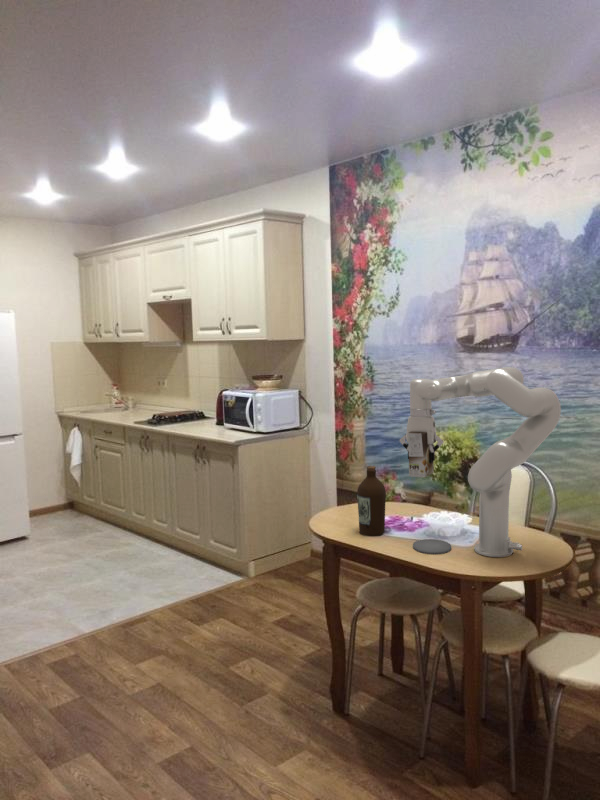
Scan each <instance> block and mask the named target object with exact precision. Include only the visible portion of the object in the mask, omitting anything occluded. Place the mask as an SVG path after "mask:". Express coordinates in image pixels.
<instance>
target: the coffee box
mask: <svg viewBox="0 0 600 800" xmlns="http://www.w3.org/2000/svg"><path fill="white" fill-rule="evenodd" d="M408 433H409V444H408V445H409V459H408V477H414V478H422V479H423V478H427V477H429V476H431V475H432V474H434V473H435V471H434V470H435V469H434V467H435V466H434V462H435V460H434V461H433V463H432V464H431V463H429V453H430V449H429V445H428V437H427V432H408Z"/></svg>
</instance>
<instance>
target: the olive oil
mask: <svg viewBox="0 0 600 800" xmlns="http://www.w3.org/2000/svg"><path fill="white" fill-rule="evenodd" d="M356 491H357V492H356V498H357V510H358V511H357V513H358V529H359V530H358V531H359V534H360V535H363V536H368V537H378V536H383V535H384V534H385V530H386V527H385V525H386V501H387V498H386V496H387V491H386V487H385V485H384V484H383V483H382V481H381V480H379V479H378V477H377V471H376V466H375V465H369V466H366V477H365V478H364V479H363V480H362V481H361V482H360V483H359V485H358V487H357V490H356ZM383 533H384V534H383Z"/></svg>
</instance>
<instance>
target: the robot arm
mask: <svg viewBox="0 0 600 800" xmlns="http://www.w3.org/2000/svg"><path fill="white" fill-rule="evenodd" d="M524 381H525V379H524V374H523V373H522V372H521V370H520V369H518V368H517V367H514V366H513V367H512V366H507V367H500V368H492V369H487V370H480V371H474V372H471V373H470V374H465V375H457V376H452V377H450V376H449V377H441V378H436V379H435V378H434V379H428V378H413V379H411V380H410V382H409V407H410V408H409V413H410V414H409V416H408V418H407V425H406V434H404V435H403V436H402V437H401V438H400V439H399V442H400V444H401V445H402V446H403V447H404V449H406V451H407V460H409V433H408V432H427V437H428V445H429V449H430V453H429V463H431V464H432V463H433V461H434V462H435V459H436V451H437V450H438V449H439V448H440V447H442V445H443V444H444V440H443V439H441V438H440V437H439V436H438V434H437V428H436V422H435V421H436V420H435V417H434V416H433V415H436V410H435V409H434V410H433V408H432V402H439V401H443V400H450V399H456V398H463V397H475V398H481V397H489V396H494V397H495V398H497V400H499V401H500V402H502V403H503V404H504V405H506V406H507V407H509V408H510V409H511V410H513V411H514V412H515V413H517V415H520V416H522V417H526V419H525V420H524V421H523V422H522V423H521V424H520V425H519V427H518V428H517V429H516V430H515V431H514V432H513V433H512V434H510V435H509V436H508V437H506V438H504V439H501V440H498V441H496V442H494V443H493V444H491V445H490V446H489V447H488V448H487V450H485V452H484V453H483V454H482V455H481V456H480V457H479V458H478V459H477V460H476V462H474V464H473V465H472V466H471V468H470V469H469V471H468V475H467V481H468V484H469V486H470V488H471V489H472V490H474V491H475V492H477V493H479V499H478V500H479V503H478V504H479V506H478V507H479V509H478V514H479V515H478V517H479V518H478V543H476V544H475V545H474V547H473V551H475V553H477V554H479V555H480V556H485V557H489V558H506V557H510V556H511V555H513V554H512V553H514V550H516V551H522V550H523V544H521V543H520V542H517V541H515V542H513V541H512V540H511V537H509V528H510V527H509V524H510V522H509V515H510V514H509V511H510V493H511V492H510V491H511V490H510V489H511V485H512V477H513V476H512V475H513V474H512V470H513V469H515V468H517V467H519V466H521V465H523V464H524V463H525V462H527V460H528V459H529V458H530V456H531V455H532V454H533V453H534V452H535V451H536V450H537V449H538V448H539V447H540V446H541V444H542V443H543V442H544V441H545V440H546V439H547V438H548V437H549V436H550V435H551V433H552V432H553V431H554V430H555V428H556V427H557V425H558V423H559V420H560V417H561V413H562V412H561V408H562V407H561V402H560V399H559V397H558V395H557V394H556V393H555V392H554V390H552V389H550V388H548V387H544V386H543V387H540V386H539V387H534V388H530V387H528V386H527V385H524ZM436 442H437V444H436V445H434V444H435V443H436ZM509 555H510V556H509ZM505 556H506V557H505Z"/></svg>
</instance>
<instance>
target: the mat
mask: <svg viewBox="0 0 600 800" xmlns="http://www.w3.org/2000/svg"><path fill="white" fill-rule="evenodd" d="M412 548H413V550H414V551H416V552H418V553H422V554H425V555H443V554H447V553H450V552H451V550H452V544H451V543H450V542H448V541H445V540H443V539H437V538H436V539H434V538H424V539H419V540H416V541H414V542H413V543H412Z"/></svg>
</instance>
